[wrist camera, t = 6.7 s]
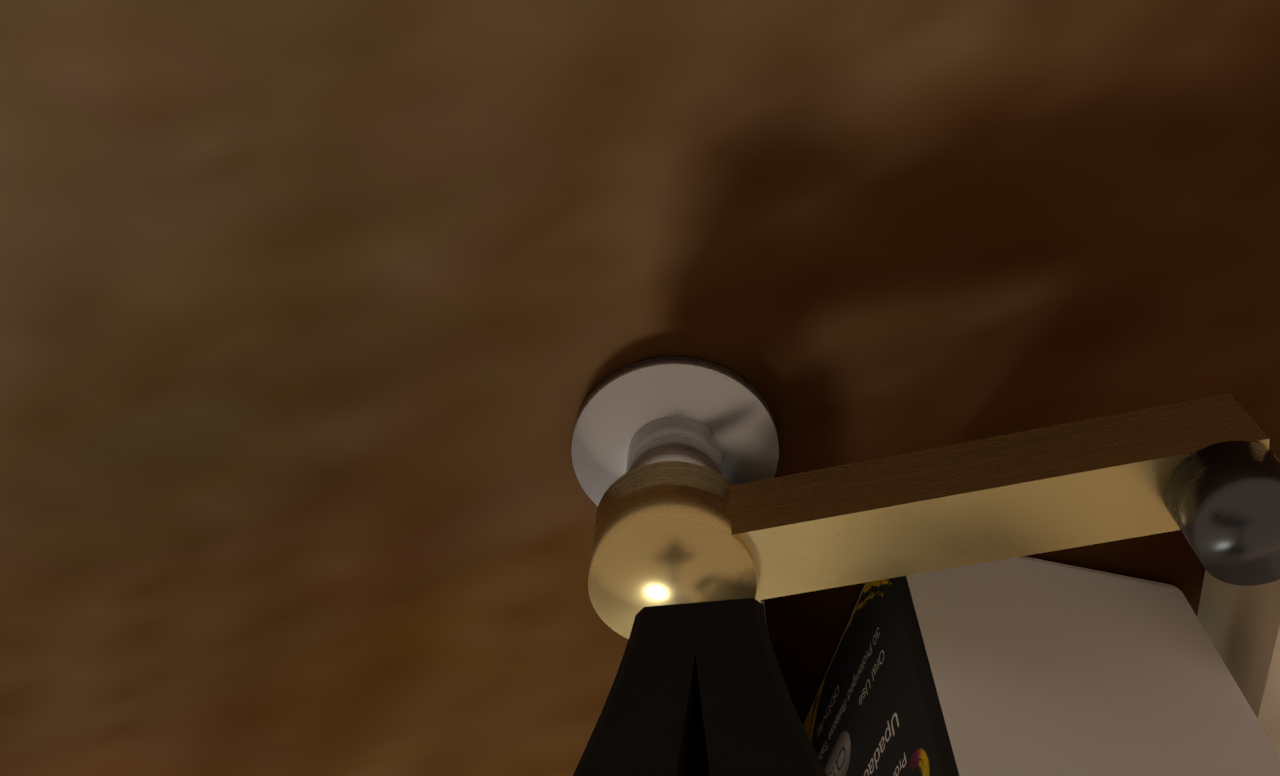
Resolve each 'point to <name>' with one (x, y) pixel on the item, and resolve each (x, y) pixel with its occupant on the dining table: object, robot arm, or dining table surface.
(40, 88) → the dining table surface
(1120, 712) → the medicine bottle
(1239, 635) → the cradle
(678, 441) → the pivot post
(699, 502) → the brass drawer handle
